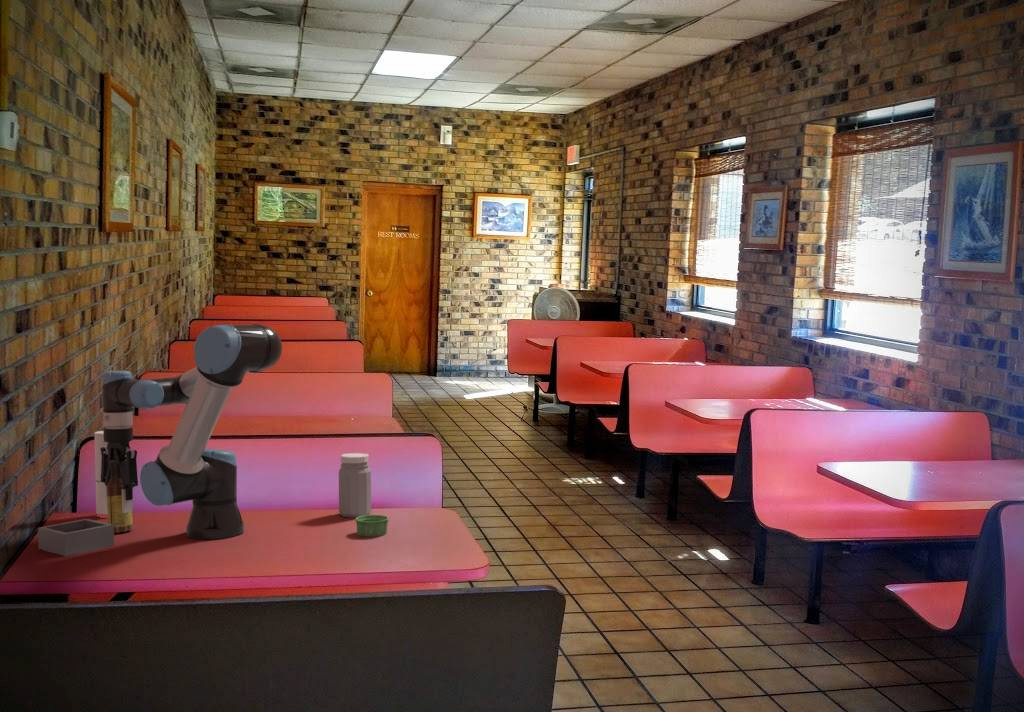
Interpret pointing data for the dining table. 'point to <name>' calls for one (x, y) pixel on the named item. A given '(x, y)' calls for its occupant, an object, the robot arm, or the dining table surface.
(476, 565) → the dining table surface
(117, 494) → the sauce bottle
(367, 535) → the ramekin
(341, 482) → the jar
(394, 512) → the dining table surface
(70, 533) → the grey open box
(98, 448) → the cylindrical container
